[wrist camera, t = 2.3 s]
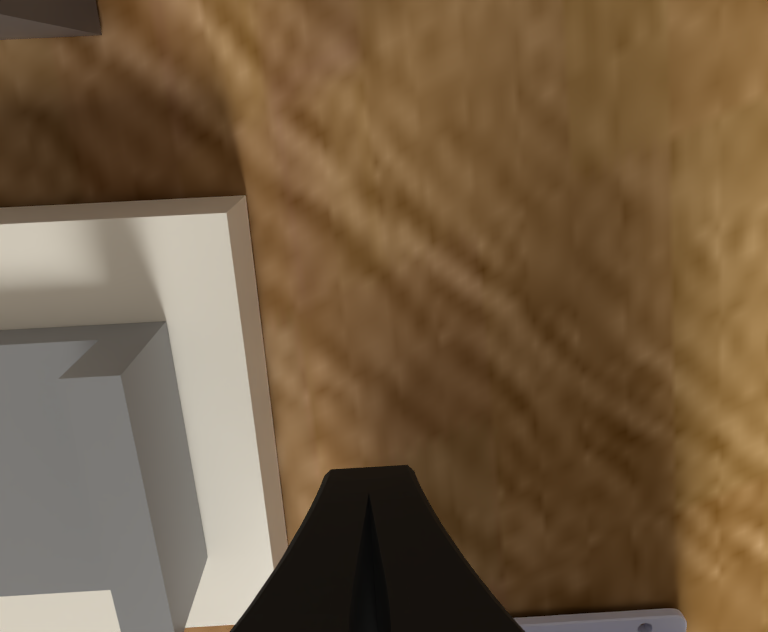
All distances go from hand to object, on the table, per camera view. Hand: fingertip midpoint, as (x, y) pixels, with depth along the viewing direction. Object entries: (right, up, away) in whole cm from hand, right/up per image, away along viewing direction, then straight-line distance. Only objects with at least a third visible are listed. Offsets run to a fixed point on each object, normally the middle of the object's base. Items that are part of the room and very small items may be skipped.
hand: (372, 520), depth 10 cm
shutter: (-8, 0, +6) cm, 10 cm away
